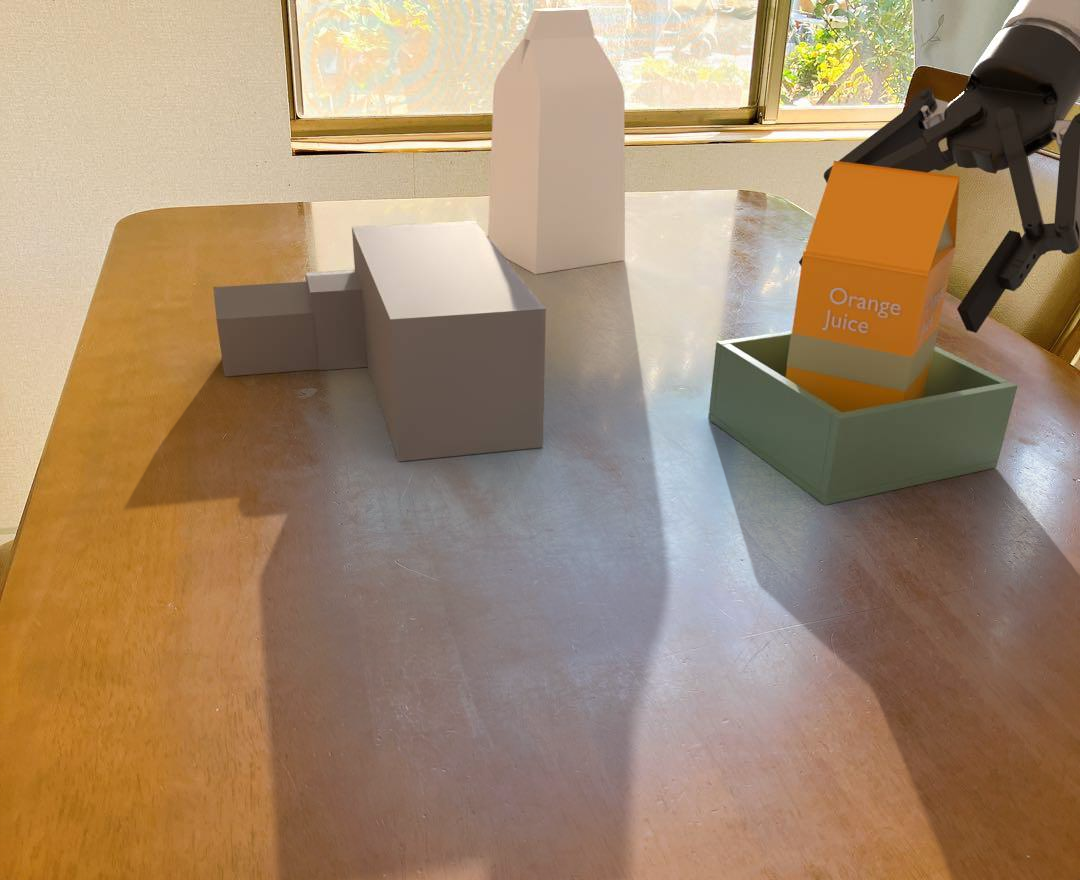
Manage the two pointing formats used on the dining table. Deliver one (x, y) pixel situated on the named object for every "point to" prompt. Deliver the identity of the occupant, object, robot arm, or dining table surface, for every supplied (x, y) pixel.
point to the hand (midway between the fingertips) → (882, 296)
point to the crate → (858, 423)
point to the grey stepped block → (409, 336)
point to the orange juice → (873, 285)
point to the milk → (558, 149)
